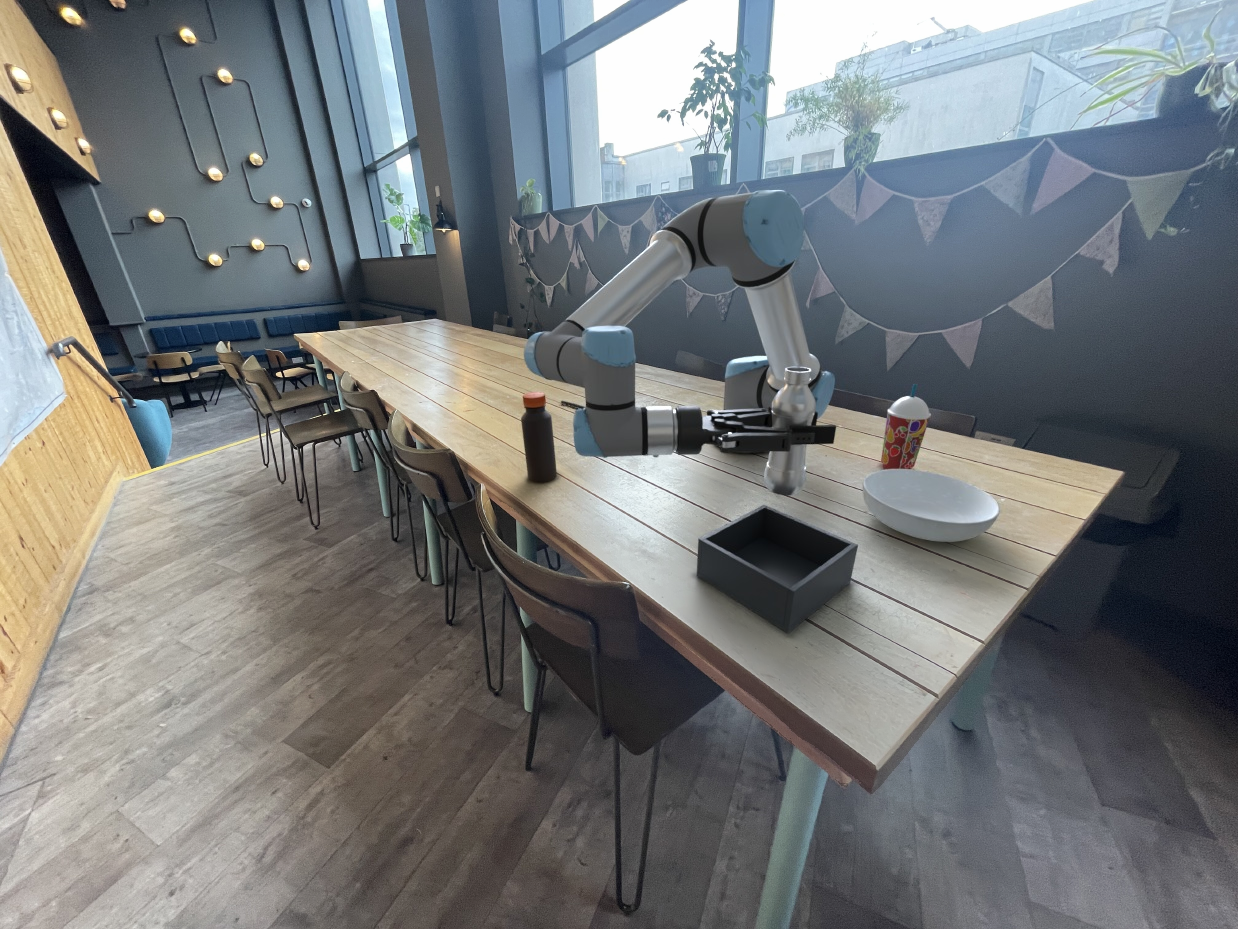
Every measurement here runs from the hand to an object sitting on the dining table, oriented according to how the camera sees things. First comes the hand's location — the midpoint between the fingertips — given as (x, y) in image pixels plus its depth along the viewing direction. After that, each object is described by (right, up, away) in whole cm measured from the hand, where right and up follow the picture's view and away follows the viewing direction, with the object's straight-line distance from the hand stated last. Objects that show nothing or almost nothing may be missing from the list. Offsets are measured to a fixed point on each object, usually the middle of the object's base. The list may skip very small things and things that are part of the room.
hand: (824, 426), depth 72 cm
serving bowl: (+24, -17, +15) cm, 33 cm away
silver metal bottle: (-5, -10, +5) cm, 12 cm away
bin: (-8, -24, +1) cm, 25 cm away
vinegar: (-50, -9, +39) cm, 64 cm away
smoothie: (+33, -7, +38) cm, 51 cm away
